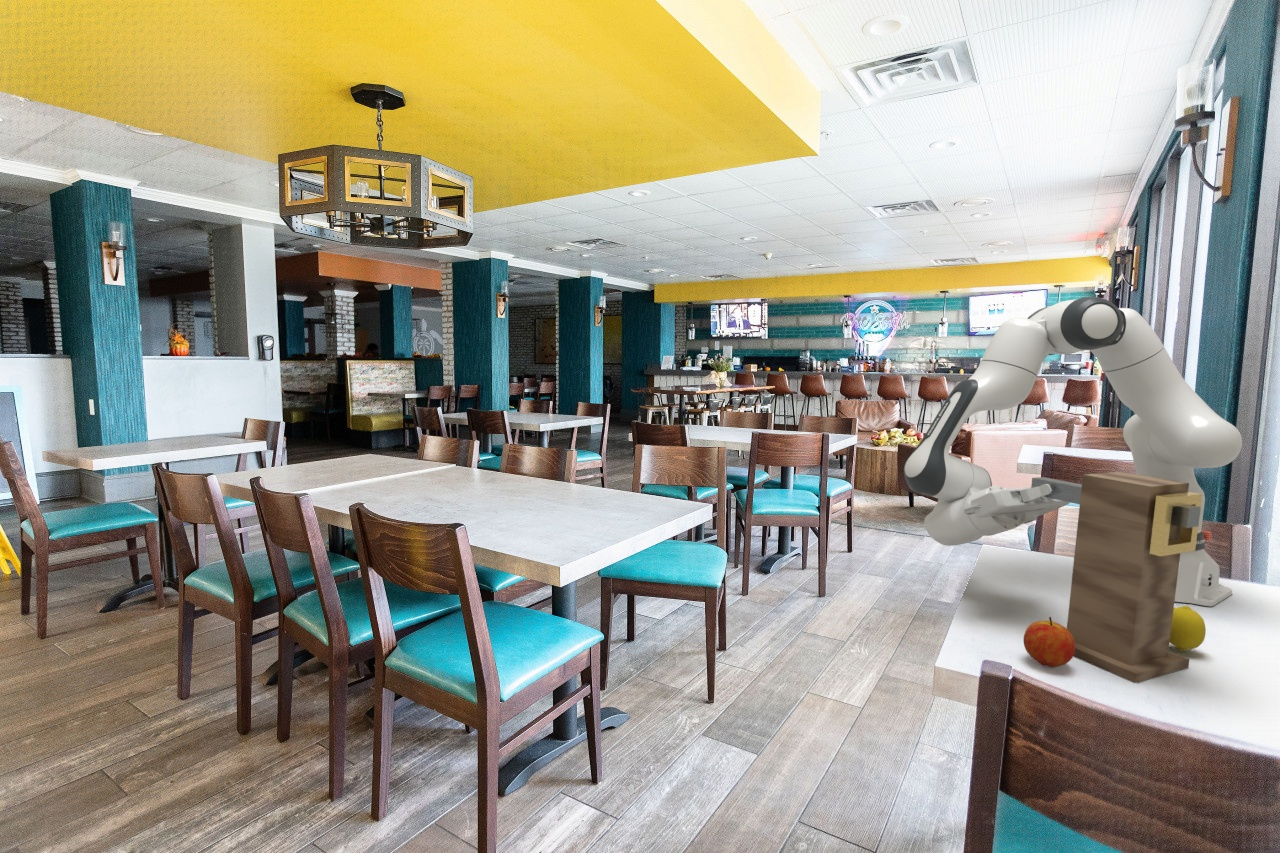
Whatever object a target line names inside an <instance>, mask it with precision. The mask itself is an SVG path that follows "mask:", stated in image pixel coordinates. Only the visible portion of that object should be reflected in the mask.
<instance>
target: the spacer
mask: <svg viewBox="0 0 1280 853" xmlns="http://www.w3.org/2000/svg"><path fill="white" fill-rule="evenodd" d="M1201 501H1202V494H1199V493H1193V492H1187V493H1177V494H1167V495H1158V496H1156V503H1155V511H1154V520H1153V528H1152V537H1151V545H1150V554H1153V555H1157V556H1166V555H1172V554H1178V553H1184V552H1190V551H1195V548H1196V540H1197V532H1198V527H1191V528H1185V527H1181V531H1180V539H1179V540H1173V541H1168V540H1169V532H1170V524H1171V515H1172V507H1176V506H1185V505H1193V506H1198V507H1201Z"/></svg>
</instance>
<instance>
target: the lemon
mask: <svg viewBox="0 0 1280 853" xmlns="http://www.w3.org/2000/svg"><path fill="white" fill-rule="evenodd" d="M1206 628H1207V627H1206V623H1205V621H1204V618H1203V617H1202V615H1201V614H1199V613H1198V612H1197V611H1196V610H1194V609H1192V608H1191V607H1190V606H1188V605H1183V606H1178V607H1174V609H1173V617H1172V625H1171V633H1170V642H1169V644H1171V646H1174V647H1175V649H1177V650H1178V651H1179V652H1185V651H1187V650H1193V649H1197V648H1198V647H1199V646H1201V645H1202V644H1203V642H1204V641H1205V638H1206V631H1207V629H1206Z"/></svg>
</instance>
